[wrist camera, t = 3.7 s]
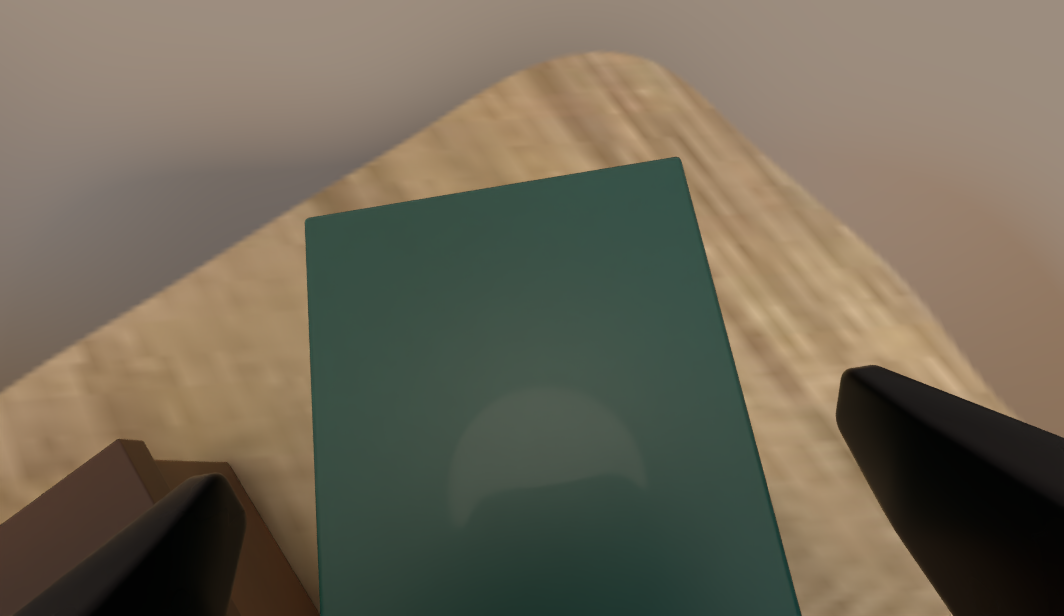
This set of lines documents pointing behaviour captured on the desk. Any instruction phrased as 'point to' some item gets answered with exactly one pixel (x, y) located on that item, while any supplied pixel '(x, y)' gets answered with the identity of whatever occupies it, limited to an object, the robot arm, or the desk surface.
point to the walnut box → (114, 502)
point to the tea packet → (533, 409)
